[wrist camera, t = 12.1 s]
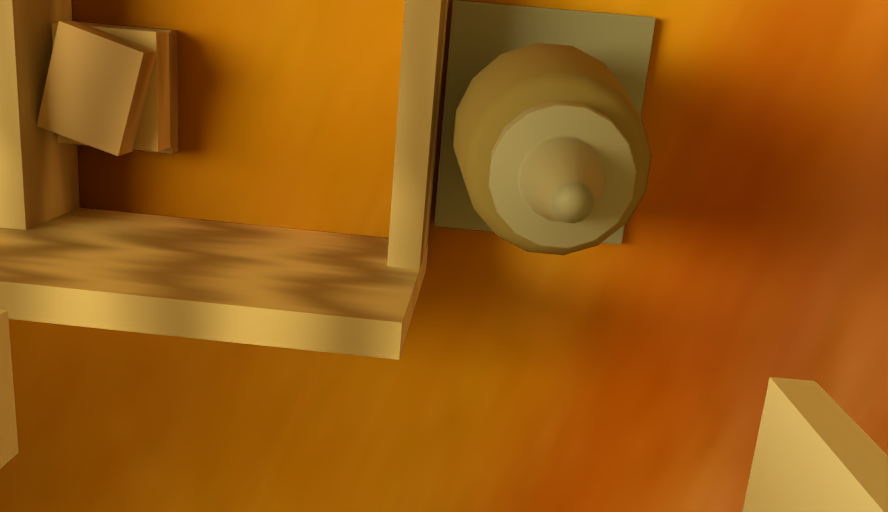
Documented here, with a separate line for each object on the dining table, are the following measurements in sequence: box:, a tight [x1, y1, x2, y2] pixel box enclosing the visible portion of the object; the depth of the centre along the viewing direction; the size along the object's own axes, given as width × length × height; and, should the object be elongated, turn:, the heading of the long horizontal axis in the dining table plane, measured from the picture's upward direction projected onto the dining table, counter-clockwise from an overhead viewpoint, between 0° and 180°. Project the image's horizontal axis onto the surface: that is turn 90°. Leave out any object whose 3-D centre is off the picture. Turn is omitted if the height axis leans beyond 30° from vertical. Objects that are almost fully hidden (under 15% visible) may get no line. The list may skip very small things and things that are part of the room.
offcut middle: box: [52, 23, 170, 152], centre depth 39 cm, size 5×6×2 cm
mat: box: [434, 0, 656, 244], centre depth 39 cm, size 10×11×1 cm
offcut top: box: [37, 21, 157, 156], centre depth 37 cm, size 4×5×2 cm
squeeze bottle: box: [453, 43, 651, 255], centre depth 30 cm, size 8×8×18 cm
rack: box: [0, 0, 448, 360], centre depth 34 cm, size 20×16×12 cm
